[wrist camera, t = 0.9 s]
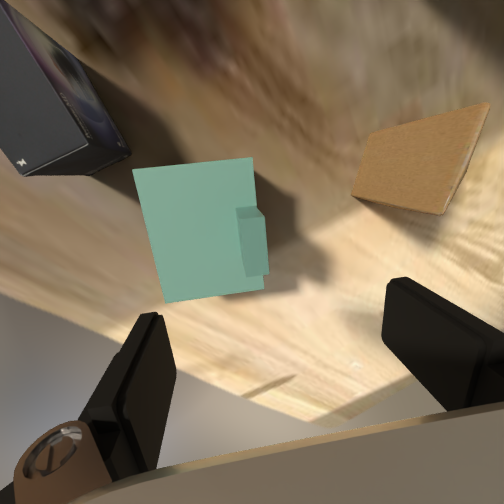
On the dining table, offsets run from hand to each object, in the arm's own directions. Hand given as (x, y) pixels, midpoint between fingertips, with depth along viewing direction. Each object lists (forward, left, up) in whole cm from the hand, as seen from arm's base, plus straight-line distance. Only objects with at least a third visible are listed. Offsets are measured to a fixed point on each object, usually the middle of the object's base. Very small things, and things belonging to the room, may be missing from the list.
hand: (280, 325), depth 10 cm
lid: (+4, 0, -17) cm, 18 cm away
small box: (+16, -13, -24) cm, 32 cm away
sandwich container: (-24, -3, -25) cm, 35 cm away
